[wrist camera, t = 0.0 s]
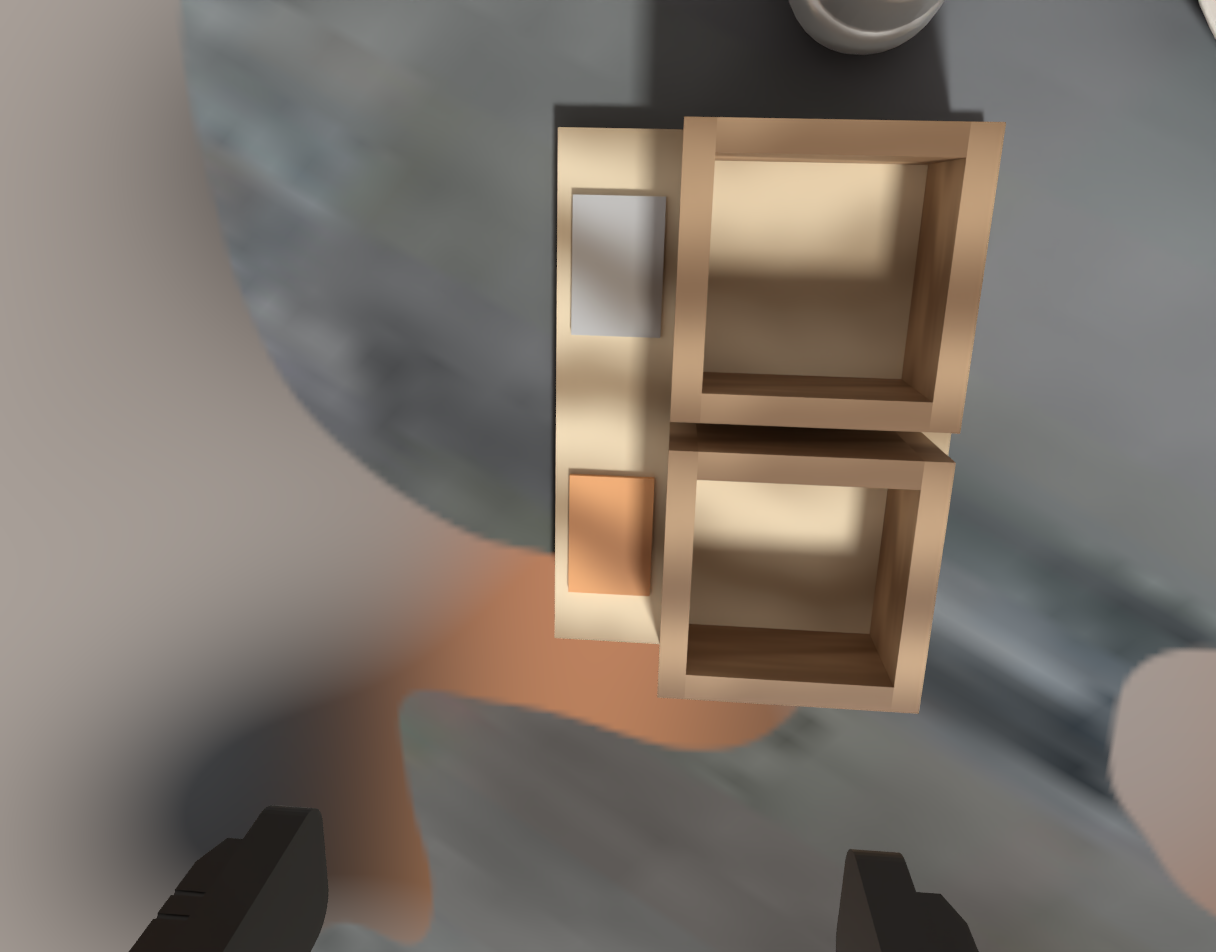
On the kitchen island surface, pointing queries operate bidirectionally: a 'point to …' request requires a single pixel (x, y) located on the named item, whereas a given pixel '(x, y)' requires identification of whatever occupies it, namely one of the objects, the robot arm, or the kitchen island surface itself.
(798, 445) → the socket board
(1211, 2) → the dinner plate
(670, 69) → the kitchen island surface
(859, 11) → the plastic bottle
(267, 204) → the kitchen island surface
